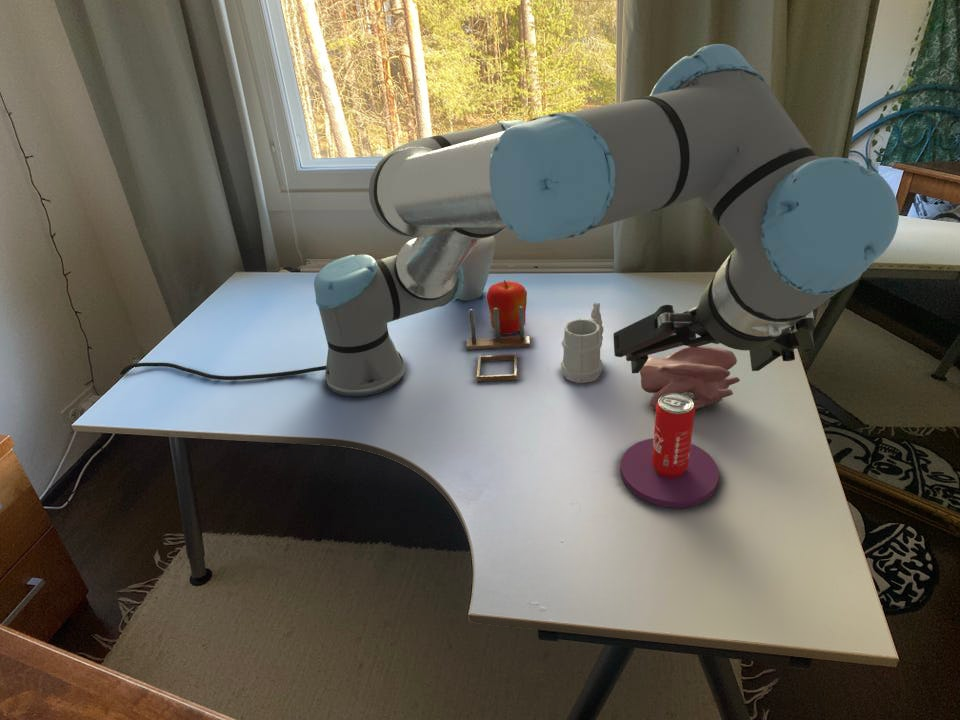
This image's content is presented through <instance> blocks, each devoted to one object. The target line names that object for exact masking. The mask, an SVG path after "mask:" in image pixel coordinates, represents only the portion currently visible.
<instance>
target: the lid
mask: <svg viewBox="0 0 960 720" xmlns="http://www.w3.org/2000/svg"><path fill="white" fill-rule="evenodd" d="M653 438H654V437H653ZM653 438H652V437H651V438H647V439H643V440H640V441H638V442H636V443H634V444H632V445H631V446H630V447H628V448H627V449H626V451H625V452H623V455H622V457H621V460H620V469H619V471H620V476H621V477H620V478H621V479H622V481H623V484H624V485H625V486H626V488H627V489H628V490H629V491H630V492H631V493H632V494H633V495H634V496H636V497H637V498H639V499H641V500H643V501H645V502H647V503H649V504H652V505H655V506H659V507H664V508H671V509H682V508H683V509H684V508H690V507H695V506H698V505H700V504H703V503H704V502H706V501H707V500H709V499H710V498H711V497H712V496H713V495H714V494H715V492H716V490H717V488H718V486H719V479H720V472H719V468H718V465H717V463H716V461H715V460H714V458H712V456H711V455H710V454H709V453H708V452H706V451H705V450H704V449H703V448H701V447H700V446H697V445H696V444H694V443H691V447H690V455H689V463H688V467H687V469H686V470H685V471H684V473H683V475H681V476H680V477H677V478H666V477H663V476H661V475H659V474H658V473H657V472H656V471H655V469H654V466H653V464H652V450H653Z"/></svg>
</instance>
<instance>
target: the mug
mask: <svg viewBox="0 0 960 720" xmlns="http://www.w3.org/2000/svg"><path fill="white" fill-rule="evenodd" d="M592 306H593V308H592V309H591V314H590V318H589V319H586V318H585V319H584V318H583V319H582V318H579V319H573V320H571V321H569V322H567V323H566V324H565V326H564V331H563V338H562V340H561V345H562V349H563V355H562V360H561V363H560V368H561V370H562V374H563V377H565V379H566V380H568V381H570V382H573V383H576V384H585V383H591V382H594V381H597V380H598V379H599V377H600V376H601V374H602V373H601V372H602V371H603V367H604V363H603V361H602V359H601V348H602V345H603V340H604V336H603V334H604V326H603V320H602V314H601V310H600V309H601V303H600V302H593V305H592Z"/></svg>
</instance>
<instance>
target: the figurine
mask: <svg viewBox="0 0 960 720" xmlns="http://www.w3.org/2000/svg"><path fill="white" fill-rule="evenodd" d="M737 362H738V359H737V357H736V355H735V353H734V352H733V351H732V350H728V349H726V348H720V347H713V346H709V345H708V346H707V345H702V346H698V347H689V346H685V347H683V348H680V349H678V350H676V351H674V352H673V353H670V354H669V355H668V356H665V357H659V356H651V357H648V360H647V361H646V363H645V364H644V366H643V367H642V369H641V370H640V372H639V376H640V384H641V389H642V390H643V391H644V392H646V393H649V394H654V395H653V396H652V397H651V398H650V401H649V407H650V408H652V409H655V410H656V405H657V403H658V401H659V399H660V397H661V396H663V395H665V394H669V393H679V394H683V395H684V394H687V393H688V394H692V396H693V397H694V400H693V399H692V401H693V403H694V407H695V410H696V409H700V408H702V407H707V406H710V405H712V404H713V402H716V403H719V402H721V401H723V399H724V398H728V397H730V396H733V394H734V392H733V391H732V389H729V388H730V386H732V385H735V384H737V383H739V382H740V381H741V378H740V377H738V376H731V377H730V375H731V372H730V371H729V370H731V369H732V368H733V367H734V366H736V364H737Z"/></svg>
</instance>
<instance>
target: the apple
mask: <svg viewBox="0 0 960 720" xmlns="http://www.w3.org/2000/svg"><path fill="white" fill-rule="evenodd" d="M485 298H486V303H487V307H488V310H489V315H490V321H491V327H492V328H493V330H494V331H495V324H494V311H493V310H494V308H498V311H499V325H500V335H513V334H515V333H517V332H520V329H519V311H518V308H519V307H523V311H524V326H526V312H527V311H526V310H527V303H528V302H527V299H528V291H527V290H526V288H525V286H524V285H523V284H522V283H519V282H517V281H511V280H510V281H509V280H507V281H506V279H505V280H503V281H500V282H497V283H494V284H492V285H490V286H489V287H488V289H487V293H486V296H485Z"/></svg>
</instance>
